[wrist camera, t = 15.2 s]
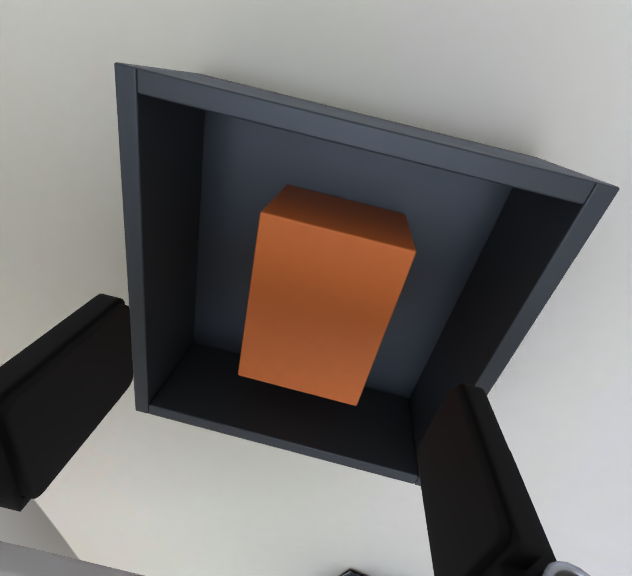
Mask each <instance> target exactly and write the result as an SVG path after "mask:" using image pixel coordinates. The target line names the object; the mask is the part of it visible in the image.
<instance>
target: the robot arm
mask: <svg viewBox="0 0 632 576" xmlns="http://www.w3.org/2000/svg"><path fill="white" fill-rule="evenodd" d="M132 379H133V360H132V342H131V324H130V309H129V306H127V305H125V302H124V300H123V299H121V298H117V297H113V296H109V295H105V294H99V295H97V296H95V297H94V298H93V299H91V300H90V301H89V302H87V303H86V304H85V305H83V306H82V307H81V308H79V309H78V310H77V311H75V312H74V313H72V314H71V315H70V316H68V317H67V318H66V319H64V320H63V321H62V322H60V323H59V324H58V325H56V326H55V327H53V328H52V329H51V330H49V331H48V332H47V333H45V334H44V335H43V336H41V337H40V338H39V339H37V340H36V341H35V342H33V343H32V344H30V345H29V346H28V347H26V348H25V349H24V350H22V351H21V352H20V353H18V354H17V355H16V356H14V357H13V358H11V359H10V360H9V361H7V362H6V363H5V364H3V365H2V366H1V367H0V507H4V508H8V509H12V510H16V511H21V510H22V509H23V508H24V507H25V505H26V504H27V503H28V502H29V501H30V499H31V498H32V499H35V498H37V497H39V496H40V495H41V494H42V493H43V492H44V491H45V490H46V489H47V487H48V486H49V485H50V484H51V482H52V481H53V480H54V479H55V477H56V476H57V475H58V474H59V473H60V471H61V470H62V469H63V468H64V466H65V465H66V464H67V463H68V461H69V460H70V459H71V458H72V457H73V455H74V454H75V453H76V452H77V450H78V449H79V448H80V447H81V445H82V444H83V443H84V442H85V441H86V439H87V438H88V437H89V436H90V434H91V433H92V432H93V431H94V429H95V428H96V427H97V426H98V425H99V423H100V422H101V421H102V420H103V418H104V417H105V416H106V415H107V413H108V412H109V411H110V410H111V409H112V407H113V406H114V405H115V404H116V402H117V401H118V400H119V399H120V397H121V396H122V395H123V394H124V393H125V391H126V390H127V389H128V387H129V386H130V384H131V382H132ZM417 463H418V469H419V476H420V483H421V489H422V496H423V503H424V510H425V516H426V523H427V530H428V536H429V543H430V550H431V556H432V563H433V570H434V576H590V575H589V574H587V573H586V572H585V571H583V570H582V569H580V568H579V567H577V566H574V565H572V564H570V563H568V562H562V561H556V558H555V556H554V554H553V551H552V549H551V547H550V544H549V542H548V539H547V537H546V535H545V532H544V530H543V527H542V525H541V523H540V520H539V518H538V515H537V513H536V511H535V508H534V506H533V504H532V501H531V499H530V496H529V494H528V492H527V489H526V487H525V484H524V482H523V480H522V477H521V475H520V472H519V470H518V468H517V465H516V463H515V461H514V458H513V456H512V453H511V451H510V450H509V448H508V446H507V443H506V441H505V439H504V436H503V434H502V431H501V429H500V427H499V424H498V422H497V419H496V417H495V415H494V412H493V410H492V407H491V405H490V403H489V400H488V398H487V395H486V393H485V391H484V389H482V388H480V387H476V386H472V385H468V384H464V383H460V384H459V385H458V386H457V387H452V388H451V389H450V390H449V392H448V394H447V396H446V398H445V399H444V401H443V403H442V405H441V407H440V408H439V410H438V412H437V414H436V416H435V418H434V419H433V421H432V423H431V425H430V427H429V428H428V430H427V432H426V434H425V436H424V437H423V439H422V441H421V443H420V445H419V447H418V450H417ZM0 576H143V575H139V574H135V573H131V572H127V571H123V570H119V569H114V568H110V567H106V566H102V565H98V564H94V563H90V562H86V561H81V560H77V559H73V558H69V557H65V556H61V555H57V554H52V553H49V552H44V551H40V550H36V549H32V548H27V547H24V546H19V545H14V544H10V543H5V542H1V541H0Z"/></svg>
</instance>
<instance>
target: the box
mask: <svg viewBox="0 0 632 576" xmlns="http://www.w3.org/2000/svg"><path fill="white" fill-rule="evenodd" d="M342 576H360V575H358V574H355V573H353V572H351V571H349V572H347V573H346V574H344V575H342Z"/></svg>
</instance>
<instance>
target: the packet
mask: <svg viewBox="0 0 632 576" xmlns="http://www.w3.org/2000/svg"><path fill="white" fill-rule="evenodd" d="M415 255H416V249H415V245H414V242H413V239H412V235H411V232H410V228H409V225H408V222H407V218H406V215H405V214H403V213H399V212H395V211H391V210H387V209H383V208H379V207H375V206H371V205H367V204H363V203H359V202H355V201H351V200H347V199H343V198H339V197H335V196H331V195H327V194H323V193H319V192H315V191H311V190H307V189H303V188H300V187H296V186H292V185H286V186H285V187H284V188H283V189H282V190H281V191H280V192H279V193H278V195H277V196H276V197H275V198H274V199H273V200H272V201H271V202H270V203H269V204H268V205H267V206H266V207H265V208H264V209H263V210H262V211H261V213H260V218H259V225H258V232H257V239H256V247H255V254H254V261H253V268H252V276H251V283H250V290H249V297H248V305H247V312H246V319H245V326H244V333H243V341H242V348H241V355H240V362H239V370H238V375H240V376H244V377H247V378H251V379H255V380H259V381H263V382H266V383H270V384H274V385H278V386H282V387H286V388H289V389H293V390H297V391H301V392H305V393H308V394H312V395H316V396H320V397H324V398H328V399H331V400H335V401H339V402H343V403H347V404H350V405H354V406H356V405H357V404H358V401H359V399H360V396H361V393H362V391H363V388H364V386H365V383H366V381H367V378H368V375H369V373H370V370H371V368H372V365H373V363H374V360H375V357H376V355H377V352H378V350H379V347H380V345H381V342H382V339H383V337H384V334H385V332H386V329H387V327H388V324H389V321H390V319H391V316H392V314H393V311H394V309H395V306H396V304H397V301H398V298H399V296H400V293H401V291H402V288H403V286H404V283H405V280H406V278H407V275H408V273H409V270H410V268H411V265H412V262H413V260H414V257H415Z"/></svg>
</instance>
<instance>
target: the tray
mask: <svg viewBox="0 0 632 576" xmlns="http://www.w3.org/2000/svg"><path fill="white" fill-rule="evenodd" d="M114 66H115V82H116V98H117V114H118V131H119V147H120V163H121V179H122V195H123V212H124V228H125V244H126V260H127V277H128V293H129V309H130V324H131V341H132V358H133V374H134V390H135V406H136V410H137V411H140V412H144V413H150V414H152V415H156V416H160V417H163V418H167V419H171V420H175V421H179V422H182V423H186V424H190V425H194V426H197V427H201V428H205V429H209V430H212V431H216V432H220V433H224V434H228V435H231V436H235V437H239V438H243V439H246V440H250V441H254V442H258V443H261V444H265V445H269V446H273V447H277V448H280V449H284V450H288V451H292V452H295V453H299V454H303V455H307V456H310V457H314V458H318V459H322V460H326V461H329V462H333V463H337V464H341V465H344V466H348V467H352V468H356V469H359V470H363V471H367V472H371V473H375V474H378V475H382V476H386V477H390V478H393V479H397V480H401V481H405V482H408V483H412V484H414V483H415V485H419V486H421V483H420V476H419V469H418V463H417V450H418V447H419V445H420V443H421V441H422V439H423V437H424V436H425V434H426V432H427V430H428V428H429V427H430V425H431V423H432V421H433V419H434V418H435V416H436V414H437V412H438V410H439V408H440V407H441V405H442V403H443V401H444V399H445V398H446V396H447V394H448V392H449V390H450V389H451V388H452V387H457V386H458V385H459V384H460V383H464V384H468V385H472V386H476V387H480V388H482V389H484V391H485V393H486V395H488V393H489V392H490V390H491V388H492V387H493V385H494V384H495V382H496V381H497V379H498V378H499V376H500V374H501V373H502V371H503V370H504V368H505V367H506V365H507V364H508V362H509V360H510V359H511V357H512V356H513V354H514V353H515V351H516V350H517V348H518V346H519V345H520V343H521V342H522V340H523V339H524V337H525V336H526V334H527V332H528V331H529V329H530V328H531V326H532V325H533V323H534V322H535V320H536V318H537V317H538V315H539V314H540V312H541V311H542V309H543V307H544V306H545V304H546V303H547V301H548V300H549V298H550V297H551V295H552V293H553V292H554V290H555V289H556V287H557V286H558V284H559V283H560V281H561V279H562V278H563V276H564V275H565V273H566V272H567V270H568V269H569V267H570V265H571V264H572V262H573V261H574V259H575V258H576V256H577V255H578V253H579V251H580V250H581V248H582V247H583V245H584V244H585V242H586V241H587V239H588V237H589V236H590V234H591V233H592V231H593V230H594V228H595V227H596V225H597V223H598V222H599V220H600V219H601V217H602V216H603V214H604V212H605V211H606V209H607V208H608V206H609V205H610V203H611V202H612V200H613V198H614V197H615V195H616V194H617V192H618V191H619V188H618V187H616V186H614V185H611V184H608V183H605V182H603V181H600V180H597V179H594V178H592V177H589V176H586V175H583V174H581V173H578V172H575V171H572V170H570V169H567V168H564V167H561V166H559V165H556V164H553V163H550V162H548V161H545V160H542V159H539V158H537V157H533V156H529V155H525V154H521V153H517V152H513V151H509V150H505V149H500V148H496V147H492V146H488V145H484V144H480V143H476V142H472V141H468V140H464V139H460V138H456V137H452V136H448V135H444V134H440V133H436V132H432V131H428V130H424V129H420V128H416V127H412V126H408V125H404V124H400V123H396V122H392V121H388V120H384V119H380V118H376V117H372V116H368V115H364V114H359V113H355V112H351V111H347V110H343V109H339V108H335V107H331V106H327V105H323V104H319V103H315V102H311V101H307V100H303V99H299V98H295V97H291V96H287V95H283V94H279V93H275V92H271V91H267V90H263V89H259V88H255V87H251V86H247V85H243V84H239V83H235V82H231V81H227V80H223V79H218V78H214V77H210V76H206V75H202V74H197V73H190V72H183V71H176V70H169V69H161V68H154V67H147V66H139V65H132V64H125V63H117V62H116V63H115V64H114ZM286 185H292V186H296V187H300V188H303V189H307V190H311V191H315V192H319V193H323V194H327V195H331V196H335V197H339V198H343V199H347V200H351V201H355V202H359V203H363V204H367V205H371V206H375V207H379V208H383V209H387V210H391V211H395V212H399V213H403V214H405V215H406V218H407V222H408V225H409V228H410V232H411V235H412V239H413V242H414V245H415V249H416V255H415V257H414V260H413V262H412V265H411V268H410V270H409V273H408V275H407V278H406V280H405V283H404V286H403V288H402V291H401V293H400V296H399V298H398V301H397V304H396V306H395V309H394V311H393V314H392V316H391V319H390V321H389V324H388V327H387V329H386V332H385V334H384V337H383V339H382V342H381V345H380V347H379V350H378V352H377V355H376V357H375V360H374V363H373V365H372V368H371V370H370V373H369V375H368V378H367V381H366V383H365V386H364V388H363V391H362V393H361V396H360V399H359V401H358V404H357V405H356V406H354V405H350V404H347V403H343V402H339V401H335V400H331V399H328V398H324V397H320V396H316V395H312V394H308V393H305V392H301V391H297V390H293V389H289V388H286V387H282V386H278V385H274V384H270V383H266V382H263V381H259V380H255V379H251V378H247V377H244V376H240V375H238V370H239V362H240V355H241V348H242V341H243V333H244V326H245V319H246V312H247V305H248V297H249V290H250V283H251V276H252V268H253V261H254V254H255V247H256V239H257V232H258V225H259V218H260V213H261V211H262V210H263V209H264V208H265V207H266V206H267V205H268V204H269V203H270V202H271V201H272V200H273V199H274V198H275V197H276V196H277V195H278V193H279V192H280V191H281V190H282V189H283V188H284V187H285V186H286Z"/></svg>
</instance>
